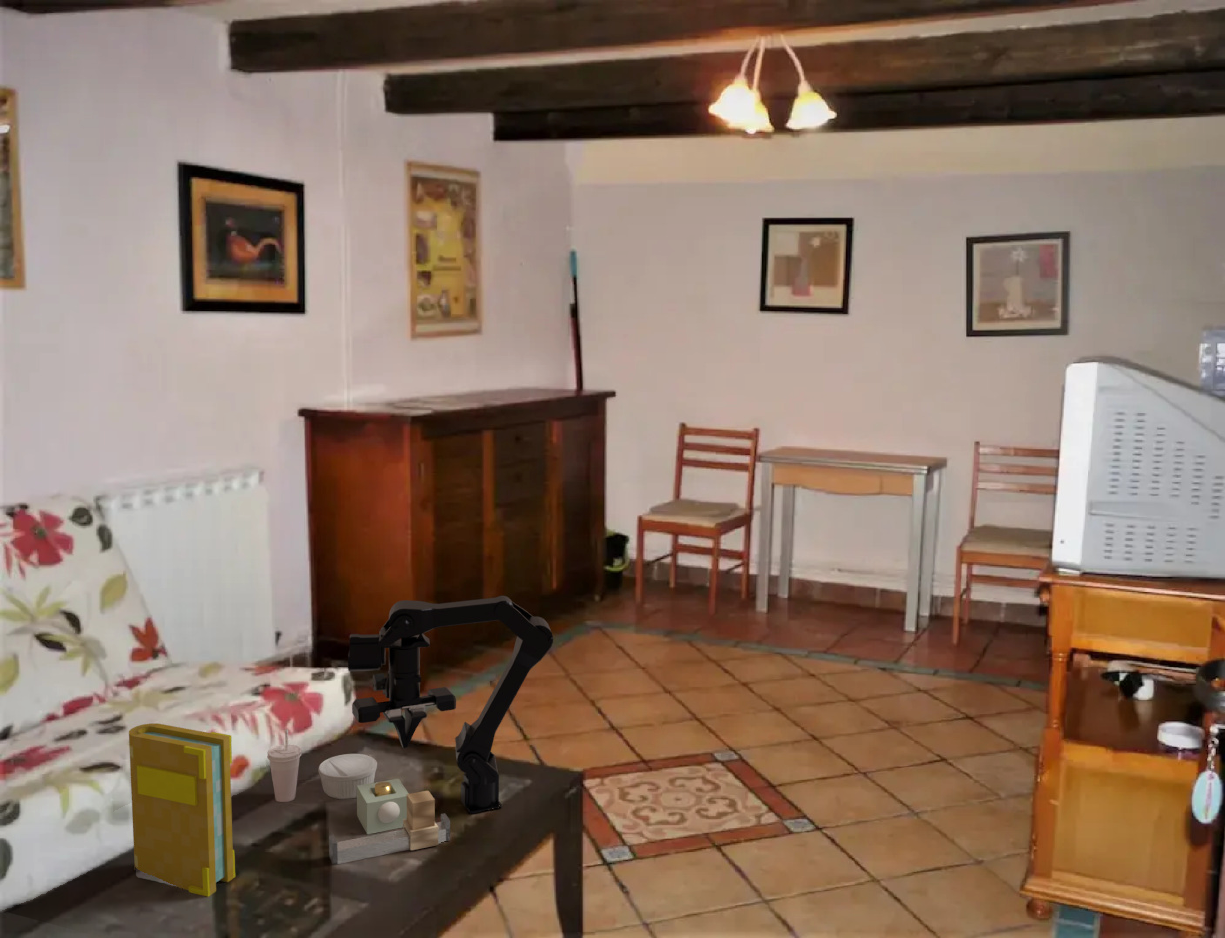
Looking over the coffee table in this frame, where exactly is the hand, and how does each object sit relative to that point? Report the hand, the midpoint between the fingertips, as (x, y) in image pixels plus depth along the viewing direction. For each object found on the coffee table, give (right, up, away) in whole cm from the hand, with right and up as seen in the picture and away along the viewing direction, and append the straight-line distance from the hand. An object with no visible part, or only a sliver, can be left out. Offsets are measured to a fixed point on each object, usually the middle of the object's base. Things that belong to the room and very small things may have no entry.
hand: (404, 747), depth 204 cm
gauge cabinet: (-3, -13, -3) cm, 14 cm away
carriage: (+5, -14, -11) cm, 19 cm away
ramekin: (-13, -11, +10) cm, 20 cm away
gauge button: (-3, -10, -3) cm, 11 cm away
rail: (0, -15, -13) cm, 20 cm away
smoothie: (-24, -11, +5) cm, 28 cm away
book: (-33, -16, -24) cm, 44 cm away
